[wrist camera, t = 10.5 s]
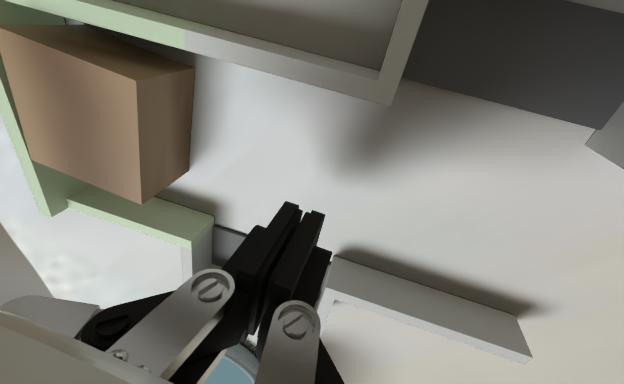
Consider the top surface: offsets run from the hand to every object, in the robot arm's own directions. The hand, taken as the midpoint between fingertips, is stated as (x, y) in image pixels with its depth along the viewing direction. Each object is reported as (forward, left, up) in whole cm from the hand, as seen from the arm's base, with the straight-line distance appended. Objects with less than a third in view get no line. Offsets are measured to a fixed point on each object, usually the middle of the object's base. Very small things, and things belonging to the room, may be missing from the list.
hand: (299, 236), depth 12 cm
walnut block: (+11, -2, -5) cm, 12 cm away
